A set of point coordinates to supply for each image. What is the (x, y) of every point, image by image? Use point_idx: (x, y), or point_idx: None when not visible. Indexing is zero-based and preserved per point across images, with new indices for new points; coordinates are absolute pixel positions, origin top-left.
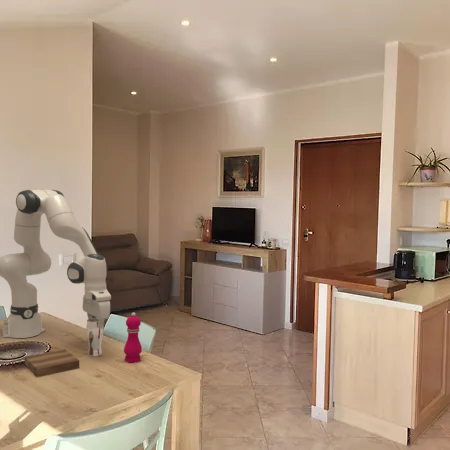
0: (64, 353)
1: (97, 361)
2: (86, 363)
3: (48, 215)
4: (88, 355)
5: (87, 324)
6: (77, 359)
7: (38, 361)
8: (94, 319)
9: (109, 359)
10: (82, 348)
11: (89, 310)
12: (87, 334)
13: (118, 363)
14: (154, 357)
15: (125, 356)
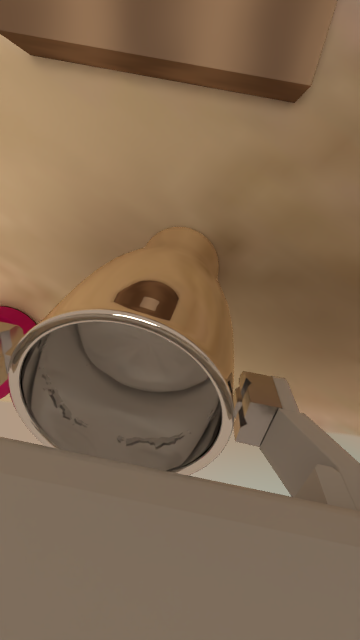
0: (216, 10)
1: (78, 215)
2: (82, 146)
3: None
4: (179, 227)
5: (141, 286)
6: (19, 27)
7: None
8: (210, 436)
9: (73, 276)
10: (316, 277)
11: (170, 586)
12: (161, 250)
13: (4, 273)
14: (7, 397)
15: (7, 321)
